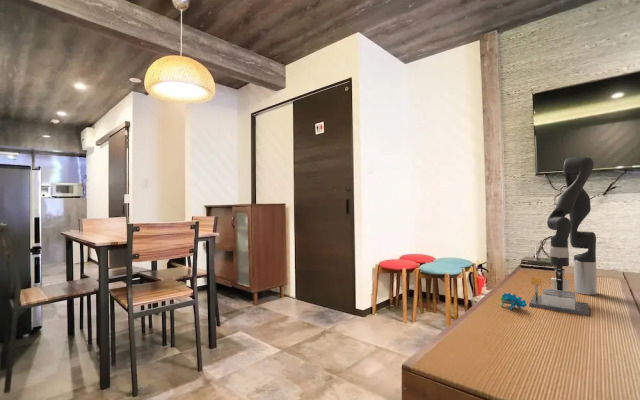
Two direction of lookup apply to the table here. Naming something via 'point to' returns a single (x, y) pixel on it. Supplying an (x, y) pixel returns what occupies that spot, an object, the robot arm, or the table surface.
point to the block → (565, 284)
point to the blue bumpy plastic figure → (512, 300)
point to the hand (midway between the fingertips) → (560, 289)
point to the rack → (557, 300)
